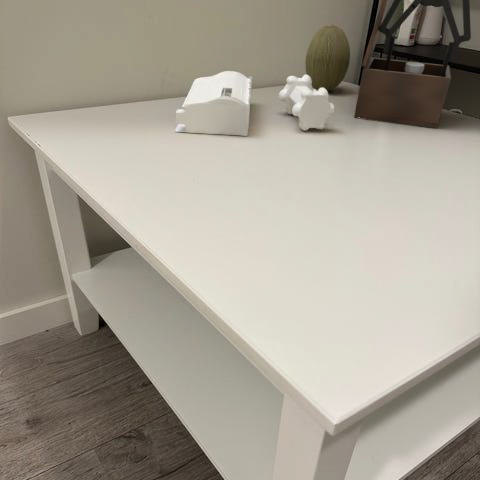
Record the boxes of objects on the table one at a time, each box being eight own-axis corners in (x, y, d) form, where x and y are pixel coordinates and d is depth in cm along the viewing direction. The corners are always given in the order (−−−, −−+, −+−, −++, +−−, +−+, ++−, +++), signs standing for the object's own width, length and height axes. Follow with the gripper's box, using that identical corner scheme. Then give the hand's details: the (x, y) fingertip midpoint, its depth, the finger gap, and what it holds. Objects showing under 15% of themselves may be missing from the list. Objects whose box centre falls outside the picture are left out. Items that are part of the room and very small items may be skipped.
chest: (436, 111, 116) (449, 65, 110) (436, 128, 104) (451, 78, 98) (361, 102, 120) (369, 57, 113) (353, 117, 108) (363, 68, 102)
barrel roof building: (189, 99, 114) (188, 67, 109) (250, 103, 114) (252, 71, 110) (174, 132, 94) (173, 94, 90) (248, 136, 94) (251, 99, 90)
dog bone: (332, 132, 99) (339, 90, 94) (292, 132, 97) (297, 89, 92) (312, 111, 110) (317, 73, 105) (275, 112, 109) (279, 72, 104)
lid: (404, -44, 101) (363, -54, 102) (400, -44, 89) (355, -55, 91) (372, 55, 113) (336, 45, 114) (365, 66, 102) (325, 56, 103)
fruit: (352, 90, 128) (363, 26, 119) (331, 98, 121) (341, 29, 112) (315, 83, 134) (324, 20, 124) (293, 89, 127) (300, 23, 117)
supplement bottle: (400, 106, 114) (411, 60, 108) (420, 111, 111) (433, 64, 105) (387, 109, 111) (398, 62, 105) (407, 115, 108) (420, 67, 102)
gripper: (508, -47, 93) (468, 76, 106) (384, -55, 98) (361, 64, 111) (513, -47, 87) (470, 83, 101) (381, -56, 92) (358, 70, 106)
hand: (413, 73), depth 106 cm, fingers open, 11 cm apart
